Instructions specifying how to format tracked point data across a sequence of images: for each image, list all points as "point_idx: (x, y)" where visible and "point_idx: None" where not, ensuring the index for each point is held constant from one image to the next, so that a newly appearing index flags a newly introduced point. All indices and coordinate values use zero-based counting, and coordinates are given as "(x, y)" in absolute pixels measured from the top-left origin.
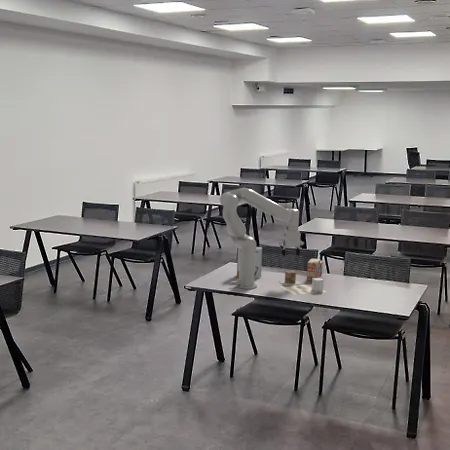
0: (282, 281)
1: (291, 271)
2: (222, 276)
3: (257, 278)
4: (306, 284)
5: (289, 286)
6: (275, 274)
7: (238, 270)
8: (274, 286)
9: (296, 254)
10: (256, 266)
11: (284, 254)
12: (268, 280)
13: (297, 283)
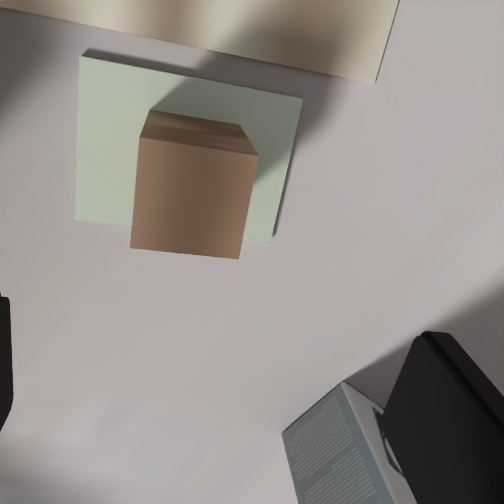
0: None
1: (170, 211)
2: None
3: (353, 388)
4: (35, 7)
5: (288, 28)
6: (138, 451)
7: None
8: (409, 122)
9: (8, 385)
10: (404, 479)
11: (463, 355)
12: (310, 321)
13: (134, 86)
